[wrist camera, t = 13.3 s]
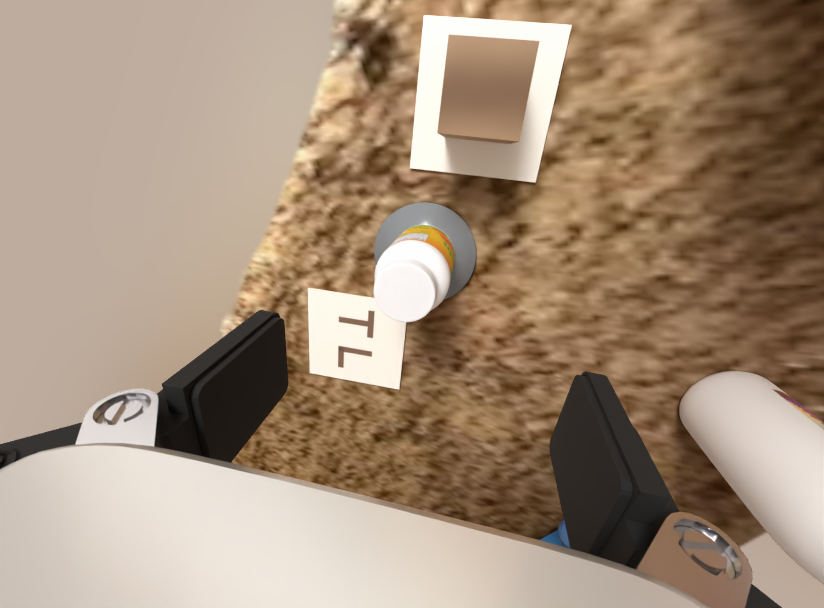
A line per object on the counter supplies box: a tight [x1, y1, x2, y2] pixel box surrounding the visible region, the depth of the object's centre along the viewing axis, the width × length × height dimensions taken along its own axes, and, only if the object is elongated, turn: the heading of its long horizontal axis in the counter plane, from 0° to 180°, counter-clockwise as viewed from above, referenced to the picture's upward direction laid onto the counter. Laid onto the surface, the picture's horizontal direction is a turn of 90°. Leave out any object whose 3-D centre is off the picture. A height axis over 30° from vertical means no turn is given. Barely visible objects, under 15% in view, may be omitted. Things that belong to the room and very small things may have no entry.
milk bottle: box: [679, 371, 824, 584], centre depth 23 cm, size 8×8×20 cm
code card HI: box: [410, 15, 572, 183], centre depth 26 cm, size 10×10×1 cm
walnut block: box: [437, 34, 540, 144], centre depth 23 cm, size 5×5×6 cm
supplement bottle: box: [374, 225, 455, 322], centre depth 26 cm, size 5×5×10 cm
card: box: [308, 288, 406, 389], centre depth 36 cm, size 10×10×1 cm
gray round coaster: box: [374, 202, 476, 300], centre depth 31 cm, size 9×9×1 cm
